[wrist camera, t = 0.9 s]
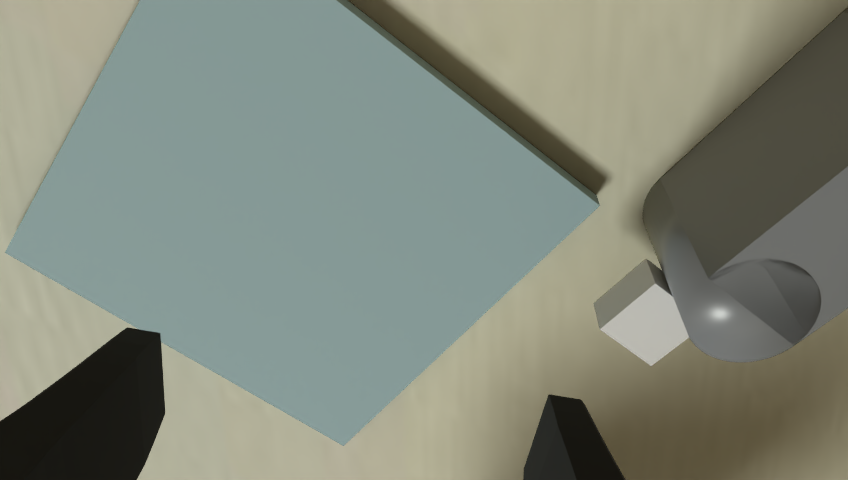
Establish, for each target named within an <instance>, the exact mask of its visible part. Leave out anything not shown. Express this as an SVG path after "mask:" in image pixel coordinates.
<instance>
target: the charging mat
mask: <svg viewBox="0 0 848 480" xmlns="http://www.w3.org/2000/svg"><path fill="white" fill-rule="evenodd" d="M599 206H600V205H599V201H598V198H597V196H596V195H595V194H594V193H593V192H591V191H590V190H589V189H588V188H586V187H585V186H584V185H582V184H581V183H580V182H579V181H577V180H576V179H575V178H573V177H572V176H571V175H570V174H568V173H567V172H566V171H565V170H563V169H562V168H561V167H559V166H558V165H557V164H556V163H554V162H553V161H552V160H551V159H549V158H548V157H547V156H545V155H544V154H543V153H542V152H540V151H539V150H538V149H536V148H535V147H534V146H533V145H531V144H530V143H529V142H528V141H526V140H525V139H524V138H522V137H521V136H520V135H519V134H517V133H516V132H515V131H514V130H512V129H511V128H510V127H508V126H507V125H506V124H505V123H503V122H502V121H501V120H499V119H498V118H497V117H496V116H494V115H493V114H492V113H491V112H489V111H488V110H487V109H485V108H484V107H483V106H482V105H480V104H479V103H478V102H477V101H475V100H474V99H473V98H471V97H470V96H469V95H468V94H466V93H465V92H464V91H462V90H461V89H460V88H459V87H457V86H456V85H455V84H454V83H452V82H451V81H450V80H448V79H447V78H446V77H445V76H443V75H442V74H441V73H439V72H438V71H437V70H436V69H434V68H433V67H432V66H431V65H429V64H428V63H427V62H425V61H424V60H423V59H422V58H420V57H419V56H418V55H417V54H415V53H414V52H413V51H411V50H410V49H409V48H408V47H406V46H405V45H404V44H402V43H401V42H400V41H399V40H397V39H396V38H395V37H394V36H392V35H391V34H390V33H388V32H387V31H386V30H385V29H383V28H382V27H381V26H380V25H378V24H377V23H376V22H374V21H373V20H372V19H371V18H369V17H368V16H367V15H365V14H364V13H363V12H362V11H360V10H359V9H358V8H357V7H355V6H354V5H353V4H351V3H350V2H349V1H348V0H140V1H139V3H138V5H137V7H136V9H135V11H134V12H133V14H132V16H131V18H130V20H129V22H128V24H127V26H126V27H125V29H124V31H123V33H122V35H121V37H120V39H119V41H118V42H117V44H116V46H115V48H114V50H113V52H112V54H111V55H110V57H109V59H108V61H107V63H106V65H105V67H104V69H103V70H102V72H101V74H100V76H99V78H98V80H97V82H96V83H95V85H94V87H93V89H92V91H91V93H90V95H89V97H88V98H87V100H86V102H85V104H84V106H83V108H82V110H81V112H80V113H79V115H78V117H77V119H76V121H75V123H74V125H73V126H72V128H71V130H70V132H69V134H68V136H67V138H66V140H65V141H64V143H63V145H62V147H61V149H60V151H59V153H58V154H57V156H56V158H55V160H54V162H53V164H52V166H51V168H50V169H49V171H48V173H47V175H46V177H45V179H44V181H43V182H42V184H41V186H40V188H39V190H38V192H37V194H36V196H35V197H34V199H33V201H32V203H31V205H30V207H29V209H28V211H27V212H26V214H25V216H24V218H23V220H22V222H21V224H20V225H19V227H18V229H17V231H16V233H15V235H14V237H13V239H12V240H11V242H10V244H9V246H8V248H7V250H6V252H5V253H6V254H8V255H10V256H12V257H13V258H15V259H17V260H19V261H20V262H22V263H24V264H26V265H27V266H29V267H31V268H33V269H34V270H36V271H38V272H40V273H41V274H43V275H45V276H47V277H48V278H50V279H52V280H54V281H55V282H57V283H59V284H61V285H62V286H64V287H66V288H68V289H69V290H71V291H73V292H75V293H76V294H78V295H80V296H82V297H84V298H85V299H87V300H89V301H91V302H92V303H94V304H96V305H98V306H99V307H101V308H103V309H105V310H106V311H108V312H110V313H112V314H113V315H115V316H117V317H119V318H120V319H122V320H124V321H126V322H127V323H129V324H131V325H133V326H134V327H136V328H138V329H140V330H145V331H152V332H158V333H160V335H161V342H162V343H164V344H166V345H168V346H169V347H171V348H173V349H175V350H176V351H178V352H180V353H182V354H183V355H185V356H187V357H189V358H190V359H192V360H194V361H196V362H197V363H199V364H201V365H203V366H204V367H206V368H208V369H210V370H211V371H213V372H215V373H217V374H218V375H220V376H222V377H224V378H225V379H227V380H229V381H231V382H232V383H234V384H236V385H238V386H239V387H241V388H243V389H245V390H246V391H248V392H250V393H252V394H253V395H255V396H257V397H259V398H260V399H262V400H264V401H266V402H267V403H269V404H271V405H273V406H274V407H276V408H278V409H280V410H281V411H283V412H285V413H287V414H288V415H290V416H292V417H294V418H295V419H297V420H299V421H301V422H302V423H304V424H306V425H308V426H309V427H311V428H313V429H315V430H316V431H318V432H320V433H322V434H323V435H325V436H327V437H329V438H330V439H332V440H334V441H336V442H337V443H339V444H341V445H343V446H344V445H345V444H346V443H347V442H348V441H349V440H350V439H351V438H352V437H353V436H355V435H356V434H357V433H358V432H359V431H360V430H361V429H362V428H363V427H364V426H365V425H366V424H367V423H368V422H369V421H371V420H372V419H373V418H374V417H375V416H376V415H377V414H378V413H379V412H380V411H381V410H382V409H383V408H384V407H385V406H387V405H388V404H389V403H390V402H391V401H392V400H393V399H394V398H395V397H396V396H397V395H398V394H399V393H400V392H401V391H403V390H404V389H405V388H406V387H407V386H408V385H409V384H410V383H411V382H412V381H413V380H414V379H415V378H416V377H417V376H419V375H420V374H421V373H422V372H423V371H424V370H425V369H426V368H427V367H428V366H429V365H430V364H431V363H432V362H433V361H435V360H436V359H437V358H438V357H439V356H440V355H441V354H442V353H443V352H444V351H445V350H446V349H447V348H448V347H449V346H451V345H452V344H453V343H454V342H455V341H456V340H457V339H458V338H459V337H460V336H461V335H462V334H463V333H464V332H465V331H467V330H468V329H469V328H470V327H471V326H472V325H473V324H474V323H475V322H476V321H477V320H478V319H479V318H480V317H481V316H483V315H484V314H485V313H486V312H487V311H488V310H489V309H490V308H491V307H492V306H493V305H494V304H495V303H496V302H497V301H499V300H500V299H501V298H502V297H503V296H504V295H505V294H506V293H507V292H508V291H509V290H510V289H511V288H512V287H513V286H515V285H516V284H517V283H518V282H519V281H520V280H521V279H522V278H523V277H524V276H525V275H526V274H527V273H528V272H529V271H531V270H532V269H533V268H534V267H535V266H536V265H537V264H538V263H539V262H540V261H541V260H542V259H543V258H544V257H545V256H547V255H548V254H549V253H550V252H551V251H552V250H553V249H554V248H555V247H556V246H557V245H558V244H559V243H560V242H561V241H563V240H564V239H565V238H566V237H567V236H568V235H569V234H570V233H571V232H572V231H573V230H574V229H575V228H576V227H577V226H579V225H580V224H581V223H582V222H583V221H584V220H585V219H586V218H587V217H588V216H589V215H590V214H591V213H592V212H593V211H595V210H596V209H597V208H598V207H599Z"/></svg>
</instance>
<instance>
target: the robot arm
mask: <svg viewBox="0 0 848 480" xmlns="http://www.w3.org/2000/svg"><path fill="white" fill-rule="evenodd" d="M164 415H165V402H164V386H163V369H162V352H161V335H160V333H158V332H152V331H145V330H139V329H133V328H126V329H124V330H123V331H122V332H120V333H119V334H118V335H116V336H115V337H114V338H112V339H111V340H110V341H108V342H107V343H106V344H105V345H103V346H102V347H101V348H99V349H98V350H97V351H96V352H94V353H93V354H92V355H90V356H89V357H88V358H87V359H85V360H84V361H83V362H81V363H80V364H79V365H77V366H76V367H75V368H74V369H72V370H71V371H70V372H68V373H67V374H66V375H64V376H63V377H62V378H60V379H59V380H58V381H56V382H55V383H54V384H52V385H51V386H50V387H48V388H47V389H45V390H44V391H43V392H41V393H40V394H39V395H37V396H36V397H35V398H33V399H32V400H31V401H29V402H28V403H26V404H25V405H24V406H22V407H21V408H19V409H18V410H16V411H15V412H13V413H12V414H10V415H9V416H7V417H6V418H4V419H3V420H1V421H0V480H137V478H138V476H139V474H140V472H141V471H142V469H143V467H144V465H145V463H146V460H147V458H148V455H149V453H150V451H151V448H152V446H153V443H154V441H155V438H156V436H157V433H158V430H159V428H160V425H161V423H162V420H163V417H164ZM524 480H625V478H624V476H623V475H622V473H621V471H620V469H619V468H618V466H617V464H616V462H615V461H614V459H613V457H612V455H611V453H610V451H609V450H608V448H607V446H606V444H605V442H604V440H603V439H602V437H601V435H600V433H599V431H598V429H597V427H596V425H595V423H594V421H593V420H592V418H591V416H590V414H589V412H588V410H587V408H586V406H585V404H584V403H583V402H582V400H580V399H574V398H567V397H561V396H555V395H548V398H547V401H546V404H545V407H544V410H543V413H542V416H541V419H540V422H539V425H538V428H537V431H536V434H535V437H534V440H533V443H532V446H531V449H530V452H529V455H528V458H527V461H526V464H525V467H524Z"/></svg>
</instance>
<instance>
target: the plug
mask: <svg viewBox="0 0 848 480" xmlns="http://www.w3.org/2000/svg"><path fill="white" fill-rule="evenodd" d="M643 221H644V225H645V228H646V230H647V233H648V235H649V238H650V240H651V243H652V245H653V248H654V250H655V253H656V256H657V258H658V261H659V263H660V266H661V268H662V270H660V269H659V268H658V267H656V266H655V265H654V264H653V263H651V262H650V261H649V260H647V259H645V260H644V261H642V262H641V263H640V264H639V265H638V266H637V267H635V268H634V269H633V270H632V271H631V272H630V273H628V274H627V275H626V276H625V277H624V278H623V279H621V280H620V281H619V282H618V283H617V284H616V285H614V286H613V287H612V288H611V289H610V290H609V291H607V292H606V293H605V294H604V295H603V296H602V297H600V298H599V299H598V300H597V301H596V302H595V303H594V307H595V311H596V315H597V320H598V324H599V328H600V330H601V331H603V332H604V333H605V334H607V335H608V336H610V337H611V338H612V339H614V340H615V341H617V342H618V343H619V344H621V345H622V346H624V347H625V348H626V349H628V350H629V351H631V352H632V353H633V354H635V355H636V356H638V357H639V358H640V359H642V360H643V361H645V362H646V363H647V364H649V365H650V366H652V365H653V364H655V363H656V362H657V361H659V360H660V359H661V358H663V357H664V356H665V355H667V354H668V353H669V352H670V351H672V350H673V349H674V348H676V347H677V346H678V345H680V344H681V343H682V342H684V341H685V340H686V339H688V338H689V337H690V339H691V341H692V342H693V343H694V344H695V346H696V347H697V348H699V349H700V350H701V351H702V352H704V353H706V354H707V355H709V356H711V357H714V358H717V359H720V360H724V361H729V362H752V361H758V360H763V359H767V358H770V357H773V356H775V355H778V354H780V353H782V352H784V351H786V350H788V349H789V348H791V347H793V346H794V345H796V344H797V343H798V342H800V341H801V340H803V339H804V338H806V337H807V336H808V335H810V334H811V333H813V332H814V331H816V330H817V329H819V328H820V327H821V326H823V325H824V324H826V323H827V322H829V321H830V320H831V319H833V318H834V317H836V316H837V315H839V314H840V313H842V312H843V311H844V310H846V309H847V308H848V8H847V9H846V10H844V11H843V12H842V13H841V14H840V15H839V16H838V17H837V18H836V19H835V20H833V21H832V22H831V23H830V24H829V25H828V26H827V27H826V28H825V29H824V30H822V31H821V32H820V33H819V34H818V35H817V36H816V37H815V38H814V39H813V40H812V41H810V42H809V43H808V44H807V45H806V46H805V47H804V48H803V49H802V50H801V51H799V52H798V53H797V54H796V55H795V56H794V57H793V58H792V59H791V60H790V61H789V62H787V63H786V64H785V65H784V66H783V67H782V68H781V69H780V70H779V71H778V72H776V73H775V74H774V75H773V76H772V77H771V78H770V79H769V80H768V81H767V82H766V83H764V84H763V85H762V86H761V87H760V88H759V89H758V90H757V91H756V92H755V93H753V94H752V95H751V96H750V97H749V98H748V99H747V100H746V101H745V102H744V103H743V104H741V105H740V106H739V107H738V108H737V109H736V110H735V111H734V112H733V113H732V114H730V115H729V116H728V117H727V118H726V119H725V120H724V121H723V122H722V123H721V124H720V125H718V126H717V127H716V128H715V129H714V130H713V131H712V132H711V133H710V134H709V135H707V136H706V137H705V138H704V139H703V140H702V141H701V142H700V143H699V144H698V145H697V146H695V147H694V148H693V149H692V150H691V151H690V152H689V153H688V154H687V155H686V156H684V157H683V158H682V159H681V160H680V161H679V162H678V163H677V164H676V165H675V166H673V167H672V168H671V169H670V170H669V171H668V172H667V173H666V174H665V175H664V176H663V177H661V178H660V179H659V180H658V181H657V182H656V183H655V184H654V186H653V187H652V188H651V190H650V191H649V193H648V195H647V197H646V200H645V202H644V206H643Z"/></svg>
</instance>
